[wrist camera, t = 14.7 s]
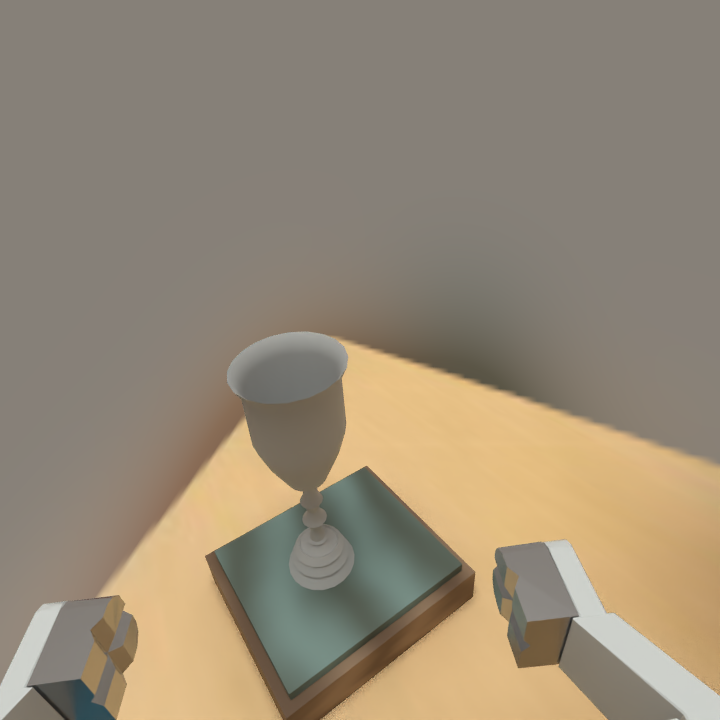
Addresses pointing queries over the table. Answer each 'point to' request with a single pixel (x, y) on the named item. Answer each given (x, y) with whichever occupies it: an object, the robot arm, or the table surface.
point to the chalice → (299, 436)
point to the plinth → (339, 595)
